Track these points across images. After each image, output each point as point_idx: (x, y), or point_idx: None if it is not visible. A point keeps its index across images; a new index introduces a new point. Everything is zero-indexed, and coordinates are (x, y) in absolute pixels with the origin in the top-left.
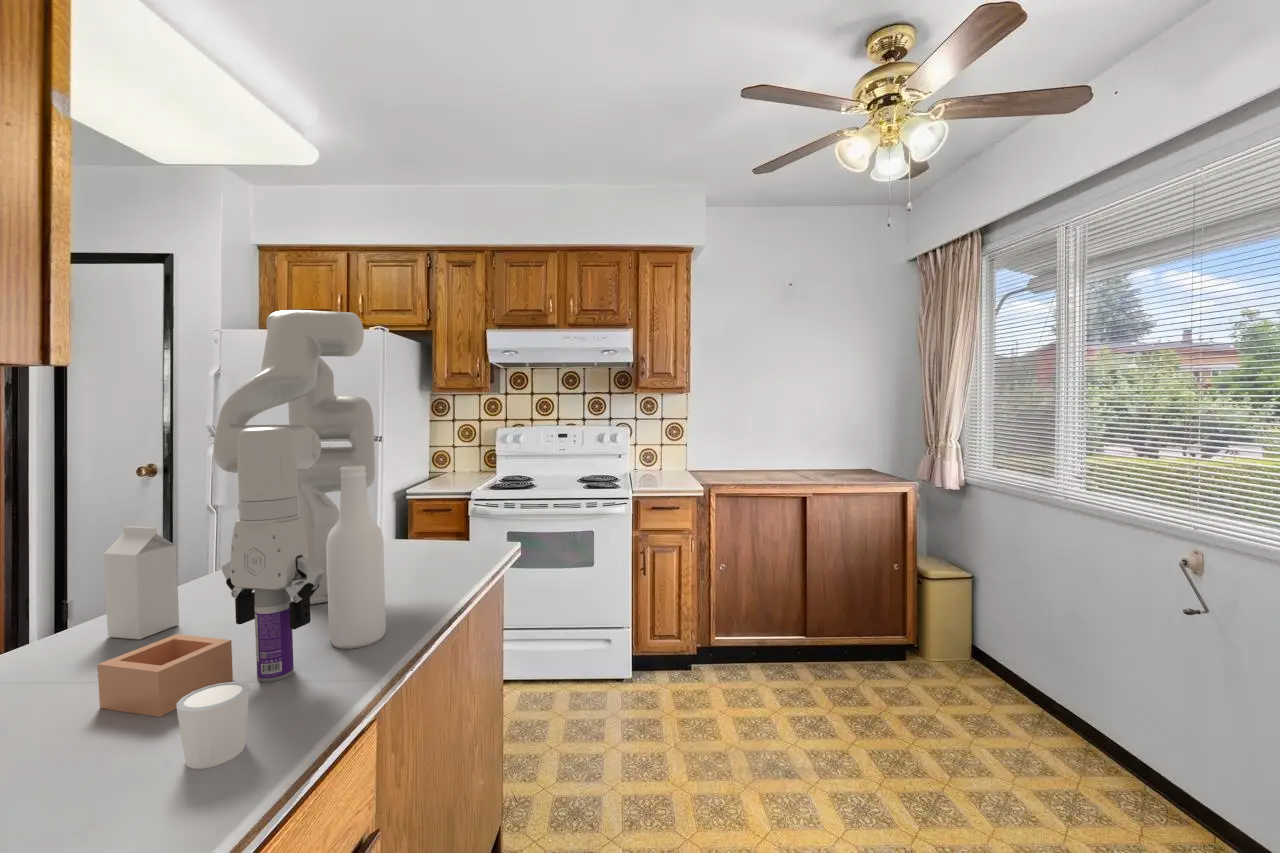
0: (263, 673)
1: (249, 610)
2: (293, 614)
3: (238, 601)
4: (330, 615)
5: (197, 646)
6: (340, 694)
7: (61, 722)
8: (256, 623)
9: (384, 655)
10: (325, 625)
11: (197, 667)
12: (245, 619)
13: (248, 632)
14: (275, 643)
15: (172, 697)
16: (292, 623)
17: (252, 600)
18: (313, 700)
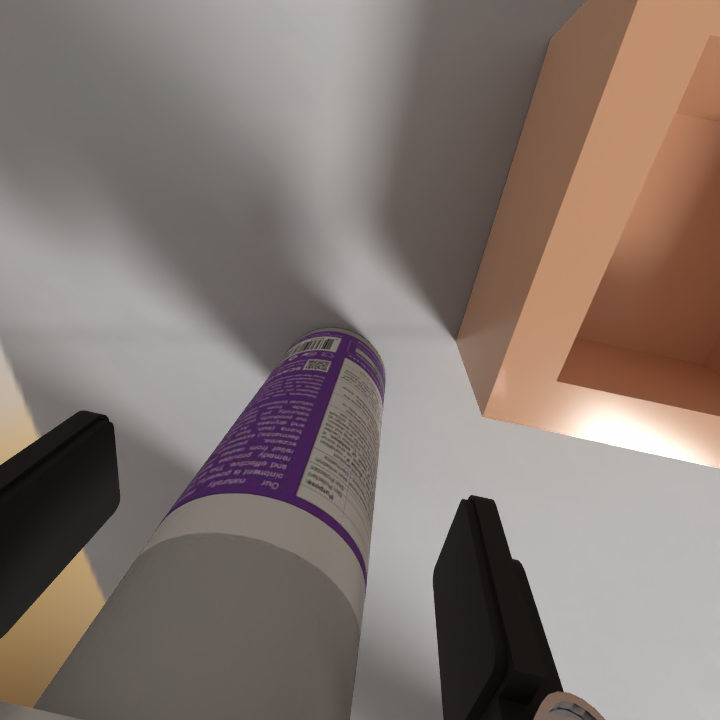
0: (331, 336)
1: (453, 594)
2: (7, 467)
3: (505, 642)
4: None
5: (652, 392)
6: (25, 245)
7: None
8: (321, 459)
9: None
10: (404, 653)
11: (531, 219)
12: (455, 531)
13: (618, 638)
14: (256, 398)
15: (549, 89)
16: (60, 426)
17: (453, 676)
18: (75, 202)
